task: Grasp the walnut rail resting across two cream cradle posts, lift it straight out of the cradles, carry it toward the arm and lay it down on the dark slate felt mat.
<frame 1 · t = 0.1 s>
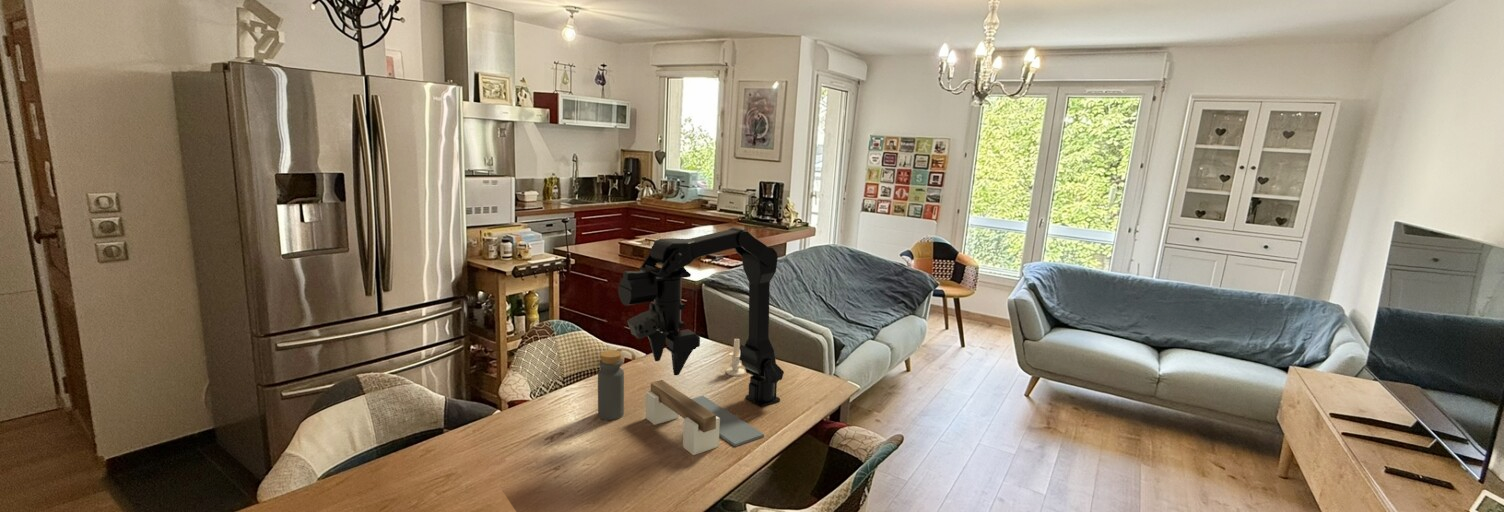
hand: (666, 367, 132), 14 cm above the table, fingers open, 9 cm apart
post 1: (662, 418, 140), on the table
mat: (717, 420, 140), on the table
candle: (735, 373, 169), on the table
rail: (681, 410, 133), point 5 cm above the table, touching post 2, post 1
post 2: (700, 446, 128), on the table
bottle: (611, 415, 141), on the table
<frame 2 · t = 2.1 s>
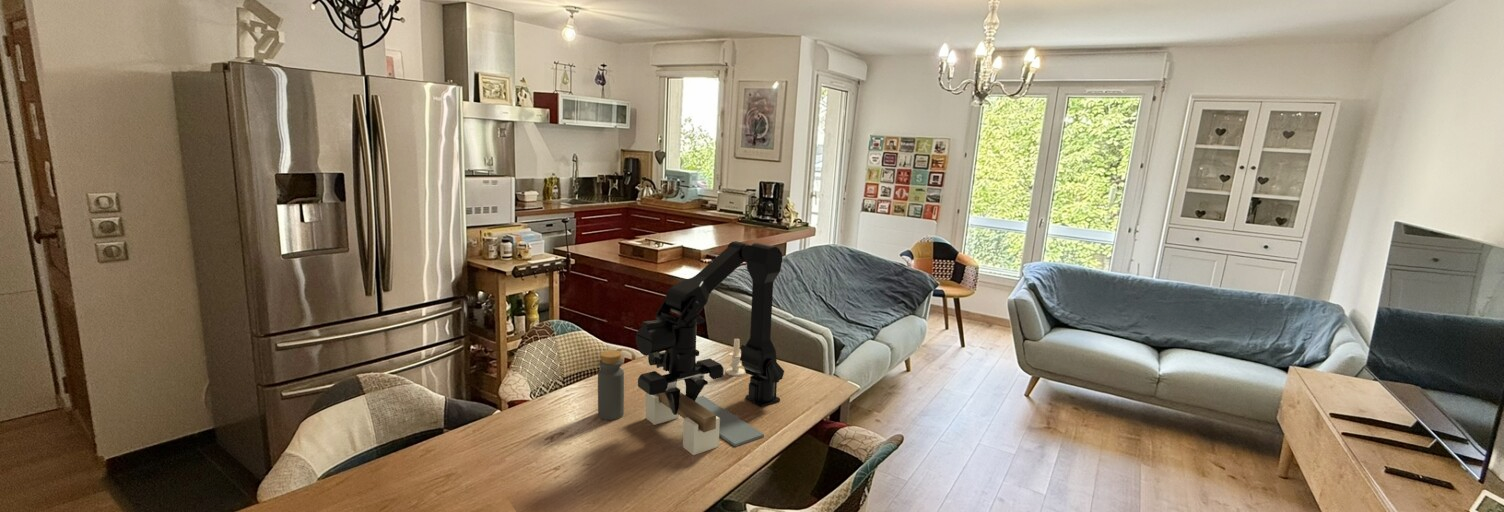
hand: (681, 412, 133), 5 cm above the table, fingers closed on rail, 3 cm apart
rail: (681, 410, 133), point 5 cm above the table, touching gripper, post 2, post 1
everything else where it was.
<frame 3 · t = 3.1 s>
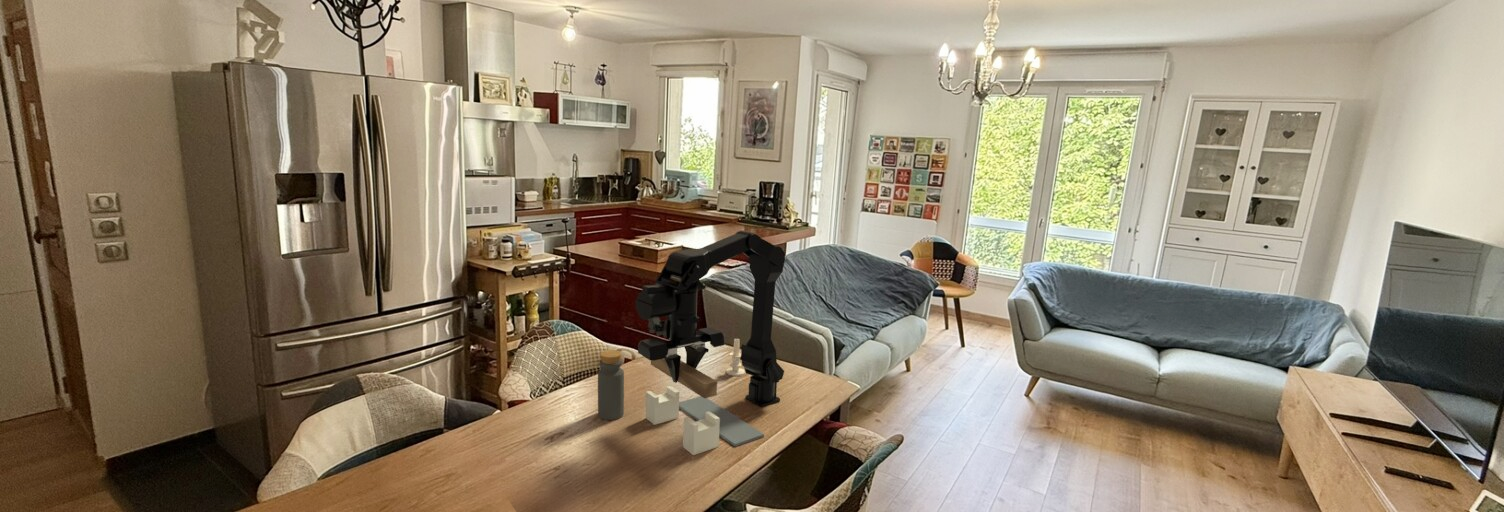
hand: (681, 380, 132), 12 cm above the table, fingers closed on rail, 3 cm apart
rail: (681, 378, 132), point 12 cm above the table, touching gripper
everything else where it was.
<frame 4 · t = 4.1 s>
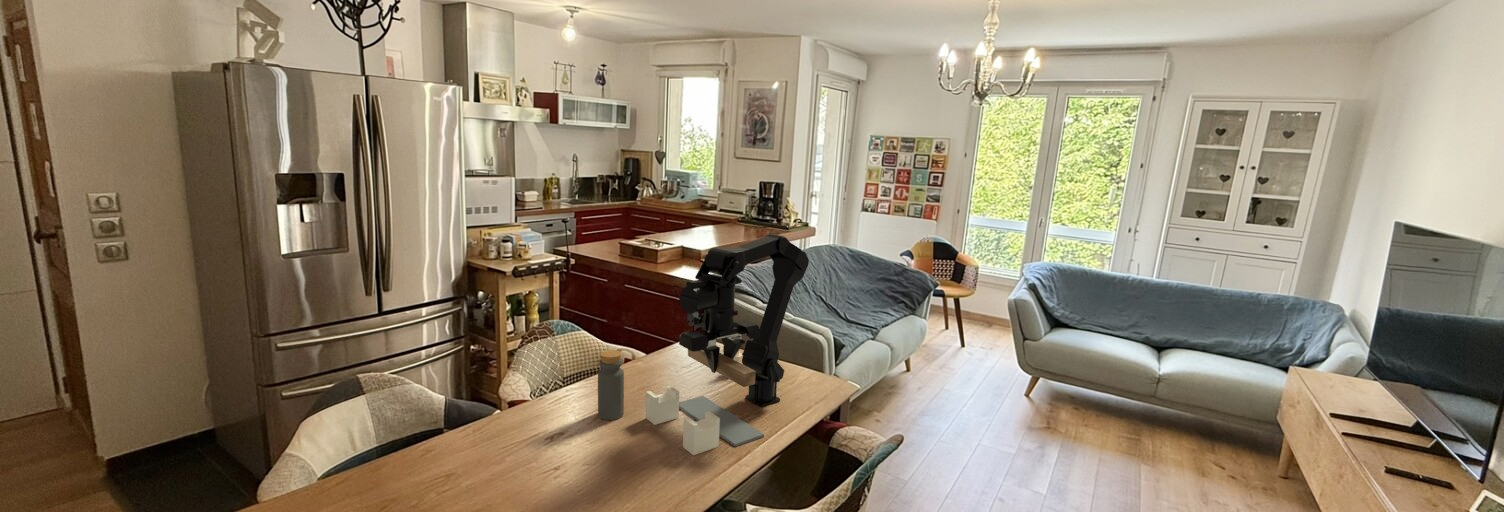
hand: (719, 370, 138), 12 cm above the table, fingers closed on rail, 3 cm apart
rail: (719, 369, 138), point 13 cm above the table, touching gripper
everything else where it was.
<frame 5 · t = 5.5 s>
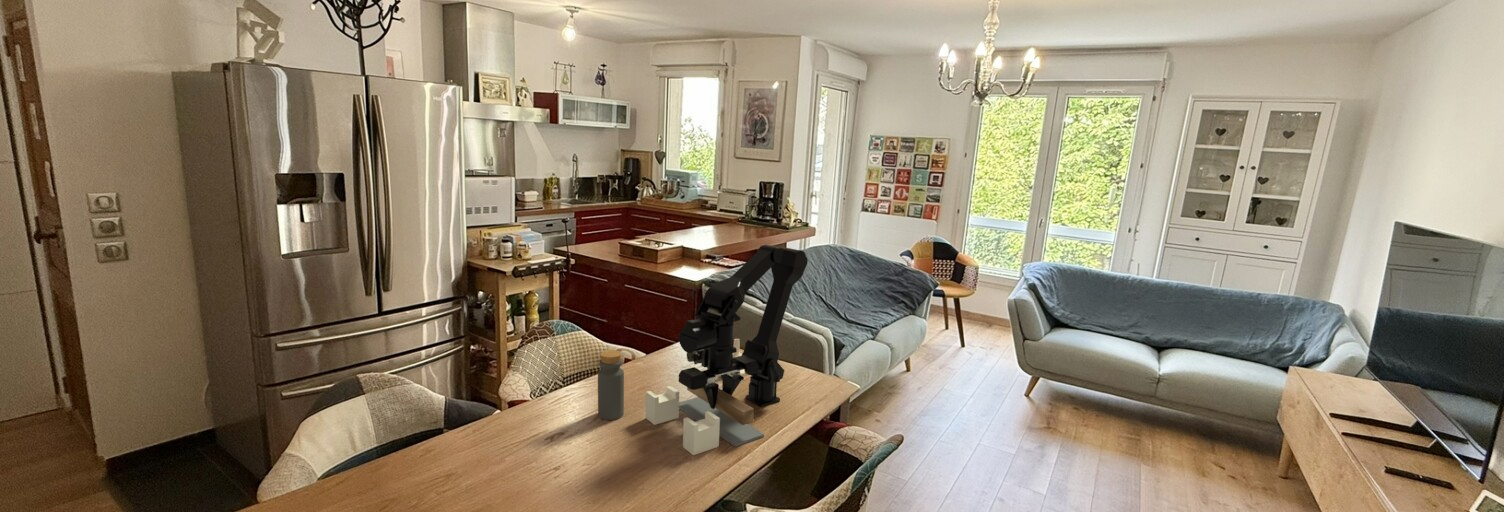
hand: (718, 406, 140), 3 cm above the table, fingers closed on rail, 3 cm apart
rail: (718, 404, 139), point 4 cm above the table, touching gripper
everything else where it was.
when the fingers open (1 cm above the table, at t = 6.6 s): rail drops 1 cm, resting on mat.
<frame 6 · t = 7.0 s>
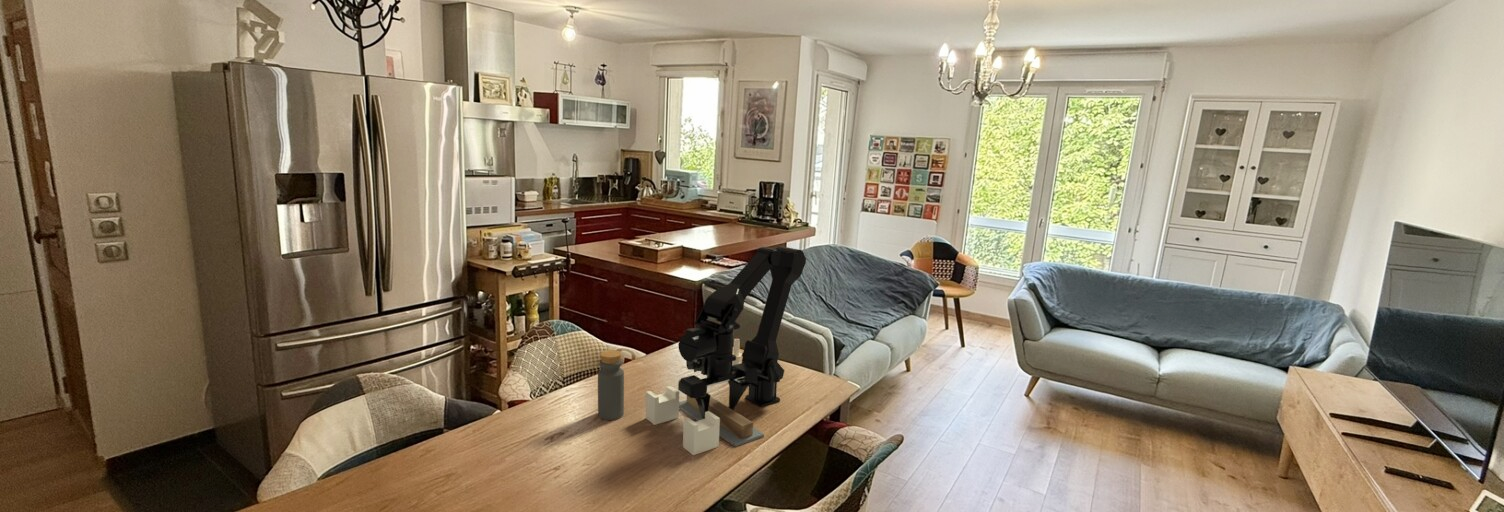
hand: (717, 414, 140), 1 cm above the table, fingers open, 7 cm apart
rail: (717, 417, 140), point 1 cm above the table, touching mat
everything else where it was.
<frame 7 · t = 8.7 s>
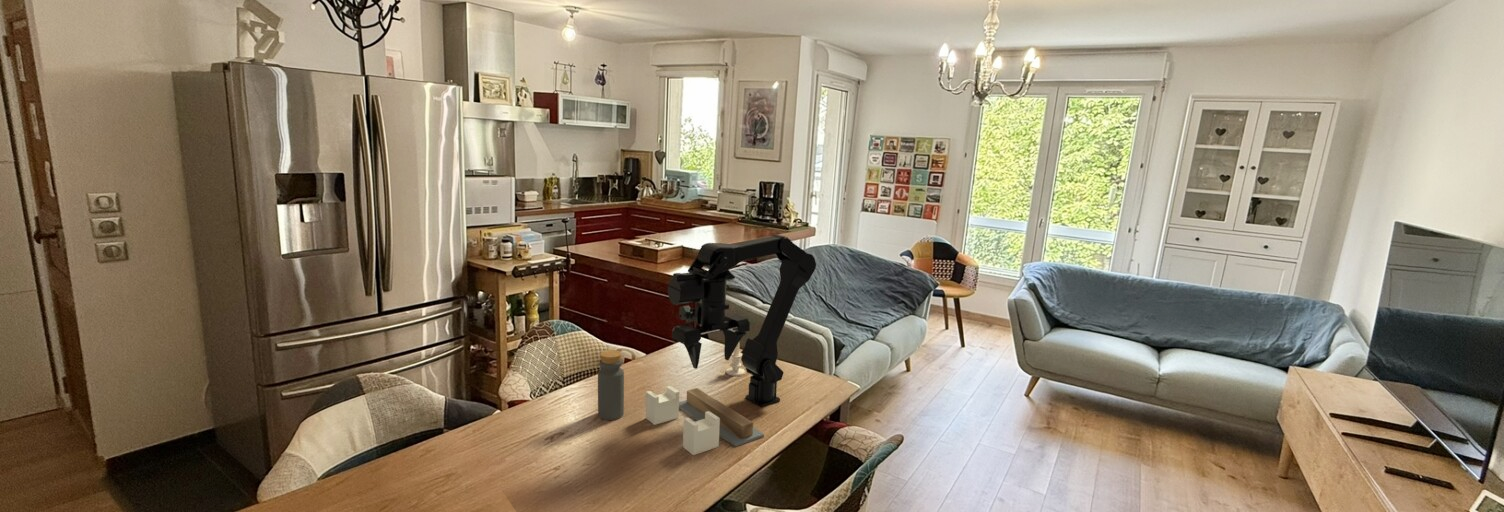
hand: (711, 363, 141), 12 cm above the table, fingers open, 9 cm apart
nothing on the table moved.
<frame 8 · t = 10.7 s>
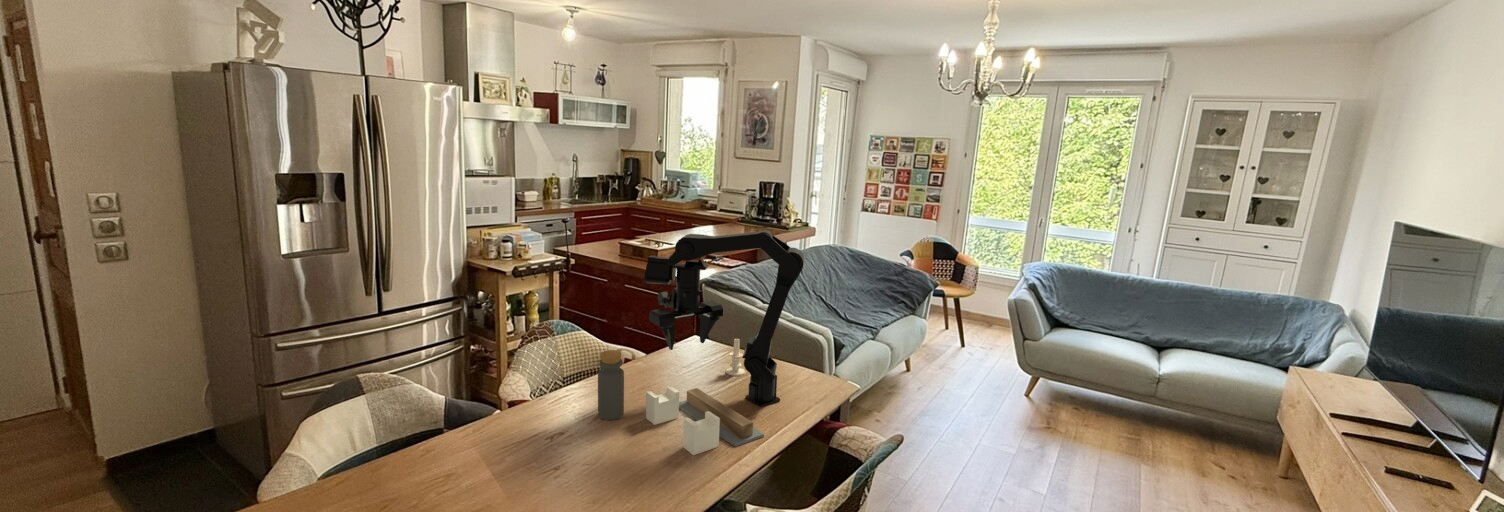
hand: (686, 346, 152), 12 cm above the table, fingers open, 9 cm apart
nothing on the table moved.
at the end: rail inside the target area on the mat (0.0 cm from its centre), point 0.6 cm above the mat's base; rail touching mat; the gripper is holding nothing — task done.
